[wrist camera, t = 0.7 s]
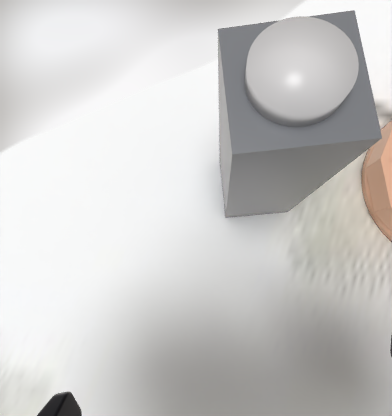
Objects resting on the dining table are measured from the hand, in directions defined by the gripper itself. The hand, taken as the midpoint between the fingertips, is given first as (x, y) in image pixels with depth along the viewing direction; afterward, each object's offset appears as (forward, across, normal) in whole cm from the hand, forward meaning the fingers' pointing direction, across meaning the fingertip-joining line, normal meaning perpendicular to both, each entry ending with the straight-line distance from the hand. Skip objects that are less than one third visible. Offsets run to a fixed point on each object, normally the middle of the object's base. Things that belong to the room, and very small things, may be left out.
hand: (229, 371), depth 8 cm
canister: (+15, -4, +1) cm, 16 cm away
